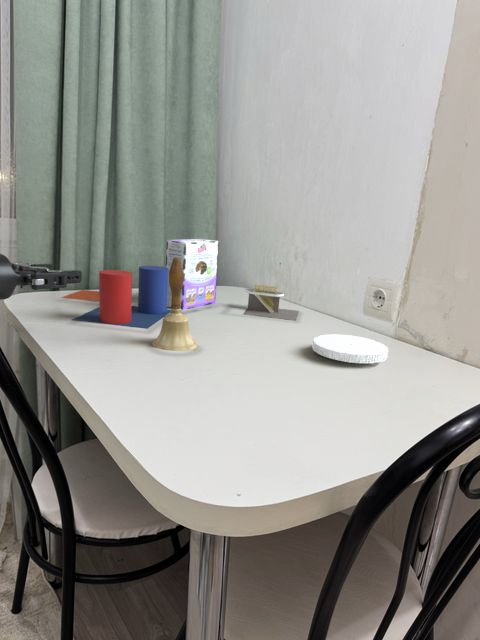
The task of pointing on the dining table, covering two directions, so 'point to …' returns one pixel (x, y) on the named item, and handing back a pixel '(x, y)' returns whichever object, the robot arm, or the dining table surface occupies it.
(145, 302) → the blue cylinder
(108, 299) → the red cylinder
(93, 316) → the blue mat
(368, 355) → the plastic lid
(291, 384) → the dining table surface
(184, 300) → the candy box
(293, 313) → the platform
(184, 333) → the hand bell
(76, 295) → the red mat
